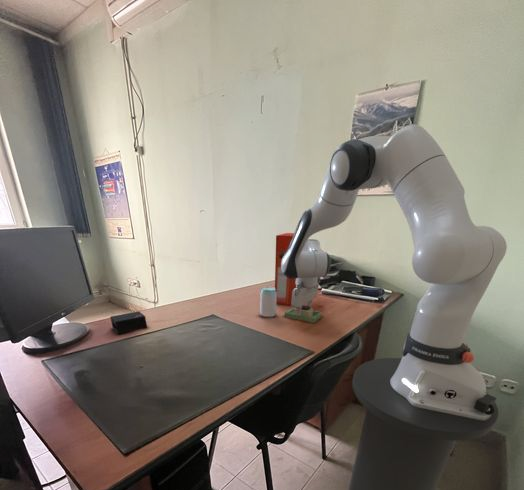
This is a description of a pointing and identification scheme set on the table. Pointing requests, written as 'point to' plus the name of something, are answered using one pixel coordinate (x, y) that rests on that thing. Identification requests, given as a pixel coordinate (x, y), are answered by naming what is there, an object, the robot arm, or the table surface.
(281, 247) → the file binder
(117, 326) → the electronic device
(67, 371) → the table surface
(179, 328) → the table surface
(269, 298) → the can
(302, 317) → the tray
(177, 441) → the table surface
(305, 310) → the cream rectangular box
